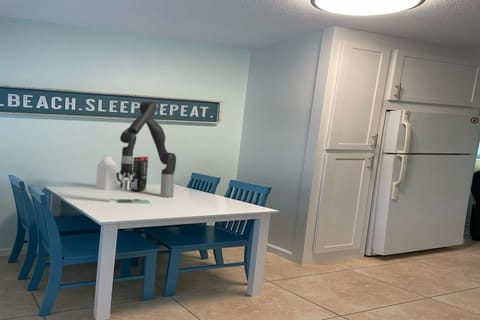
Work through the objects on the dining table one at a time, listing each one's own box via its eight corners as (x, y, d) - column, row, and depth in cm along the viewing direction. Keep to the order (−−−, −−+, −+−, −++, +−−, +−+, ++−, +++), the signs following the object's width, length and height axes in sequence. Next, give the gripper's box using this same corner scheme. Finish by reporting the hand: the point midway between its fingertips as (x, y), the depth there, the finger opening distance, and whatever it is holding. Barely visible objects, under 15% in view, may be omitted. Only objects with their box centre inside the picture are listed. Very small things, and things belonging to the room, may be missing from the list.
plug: (128, 189, 306) (129, 180, 305) (129, 190, 302) (129, 180, 302) (122, 189, 304) (122, 179, 304) (122, 190, 301) (123, 180, 300)
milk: (105, 190, 355) (106, 157, 353) (95, 188, 361) (97, 155, 359) (117, 189, 365) (118, 156, 363) (107, 187, 371) (108, 155, 369)
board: (147, 201, 316) (148, 198, 316) (150, 204, 302) (150, 202, 302) (115, 201, 308) (115, 198, 308) (116, 204, 295) (116, 201, 295)
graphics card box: (138, 188, 374) (140, 155, 372) (146, 189, 373) (148, 156, 371) (131, 191, 357) (132, 156, 355) (139, 192, 356) (141, 157, 354)
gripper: (137, 162, 308) (135, 187, 309) (115, 161, 304) (114, 187, 305) (138, 163, 301) (137, 189, 302) (116, 162, 297) (115, 188, 298)
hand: (125, 187), depth 303 cm, fingers closed on plug, 4 cm apart
